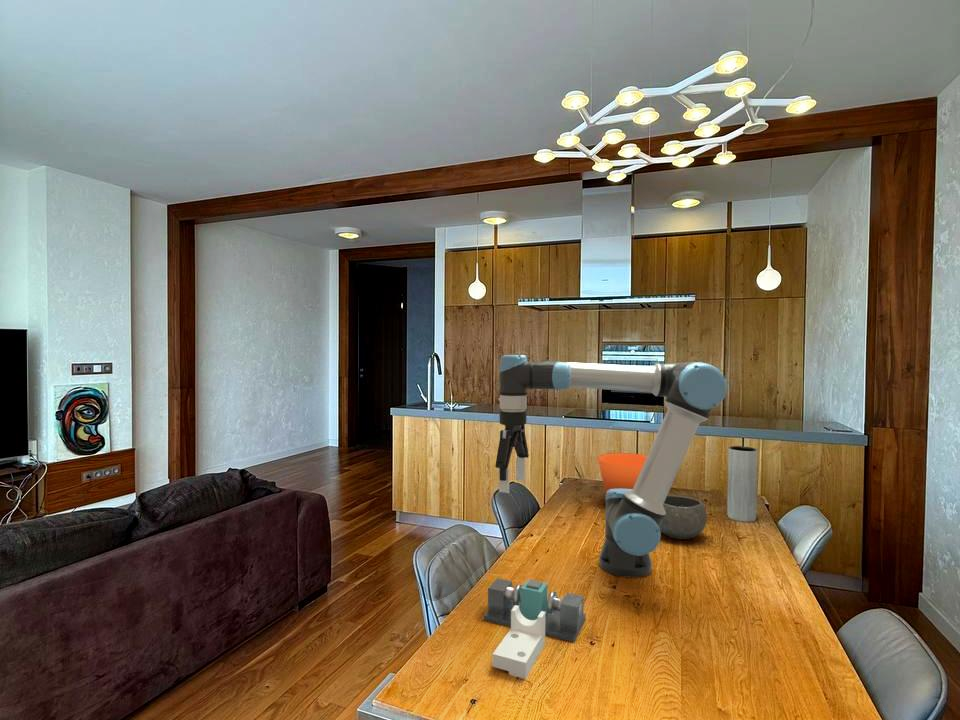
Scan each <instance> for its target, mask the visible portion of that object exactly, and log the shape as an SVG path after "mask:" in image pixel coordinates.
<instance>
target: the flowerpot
mask: <svg viewBox="0 0 960 720" xmlns="http://www.w3.org/2000/svg"><path fill="white" fill-rule="evenodd" d="M647 456H648V454H647V455H646V454H641V453H633V452H632V453H631V452H608V453H603V454H599V455H598V456H597V461H598V466H599V471H600V474H601V478H602V483H603V489H604V492H605V494H606V492H607V491H608V490H610V489H633V487H634V485H635V483H636V481H637V478H638V476H639V474H640V472H641V469H642V467H643V465H644V462H645V460H646V458H647Z"/></svg>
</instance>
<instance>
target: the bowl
mask: <svg viewBox="0 0 960 720" xmlns="http://www.w3.org/2000/svg"><path fill="white" fill-rule="evenodd" d="M663 506H664V509H665V511H666V515H665V517H664V519H663V521H662V524H661V526H660V531H661V533H663V534H664V535H665V536H668V537H670V538H671V539H672V538H673V539H677V540H687V539H692V538H695V537H696V536H699V535H700V534H701V533H702V532H703V530H705V528H706V525H707V521H708V519H707V518H708V516H707V510H706V508H705V505H704V504H703V502H702V501H701V500H699V499H696V498H694V497H693V498H691V497H687V496H680V495H670V494H668V495H667V497H666V499H665V502H664V504H663Z"/></svg>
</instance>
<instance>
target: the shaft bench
mask: <svg viewBox="0 0 960 720" xmlns="http://www.w3.org/2000/svg"><path fill="white" fill-rule="evenodd" d="M523 585H524V584H521V583H517V584H516V585H515V587H513V581H512V580H509V579H503V578H499V577H497V578H496V579H495V580H494V581H493V582H492V583H491V585H489V586H488V588H487V610H486V612H485V613H484V614H483V621H485V622H489V623H493V622H494V623H493V624H497V623H498V624H497V625H501V624H502V626H505V627H506V626H507V627H509V626H510V628H511V610H512V609H513V607H514V606H515V605H517V606H519V609H520V612H521V588H522V586H523ZM584 599H585V597H584V595H582V594H576V593H572V592H571V593H570V592H566V594H565V595H564V597H560V596H558V593H557V591H555V590H554V591H553V590H551V591H550V592H549V594H548V596H547V613H546V615H545V637H546V636H547V637H551V638H555V639H559V640H562V641H567V642H571V643H576V641H577V638H578V636H579V634H580V632H581V630H582V627H583V625H584V623H585V622H586V619H587V617H586V616H587V614H586V613H584V604H585V603H584ZM528 620H530V619H528Z"/></svg>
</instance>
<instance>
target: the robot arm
mask: <svg viewBox="0 0 960 720" xmlns="http://www.w3.org/2000/svg"><path fill="white" fill-rule="evenodd" d="M527 357H528V356H526V355H525V354H518V355H517V354H504V355H502V356H501V357H500V358H499V359H500V360H499V397H498V402H499V409H500V411H499V424H500V425H502V426H505V428H504V430H503V429H501V430H500V432H499V442H498V448H497V453H496V454H497V455H496V460H495V465H494V467H495V468H496V469H498V492H499V493H507V494H509V493H510V467H509V464H510V461H511V457H512V453H513V449H514V451H515V453H516V457H515V481H523V482H525V481H526V458H527V459H528V458H529V455H530V454H529V449H528V443H527V438H526V428H525V425H526V424H527V411H526V409H528V407H527V406H528V405H527V404H528V403H527V401H528V399H527V398H528V397H527V396H528V395H527V390H556V391H559V390H569V388H576V389H577V388H578V389H590V390H592V389H594V390H608V391H609V390H610V391H625V392H627V391H628V392H641V393H642V392H643V393H651V394H653V395H654V396H655V397H665V400H664V404H665V406H666V409H667V411H666V413H665V415H664V418H663V419H662V422H661V424H660V427H659V429H658V431H657V434H656V435H655V438H654V440H653V442H652V444H651V447H650V449H649V451H648V454H647V455H648V456H647V458H646V460H645V462H644V465H643V467H642V469H641V472H640V474H639V476H638V478H637V481H636V483H635V485H634V487H633V489H610V490H608V491H607V492H606V493H605V498H604V499H605V500H604V501H605V539H604V542H603V545H602V548H601V550H600V554H599V557H598V564H599V567H600V568H601V569H602V570H603V571H605V572H607V573H609V574H611V575H614V576H619V577H623V578H641V577H645V576H648V575H650V574H651V573H652V569H653V566H652V565H653V563H652V559H651V555H650V554H651V553H652V552H654V550H656V549H657V548H658V546H659V545H660V542H661V537H662V535H661V534H662V532H661V531H660V526H661V524H662V521H663V519H664V517H665V515H666V511H665V509H664V506H663V504H664V502H665V499H666V497H667V495H669V492H670V490H671V488H672V486H673V483H674V482H675V480H676V477H677V474H678V472H679V470H680V468H681V466H682V464H683V462H684V459H685V457H686V454H687V452H688V450H689V448H690V446H691V443H692V441H693V439H694V436H695V434H696V432H697V429H698V428H699V425H700V424H701V423H703V422H707V421H708V420H709V419H710V417H711V414H712V412H713V409H714V408H716V407H718V406H719V405H720V404H721V403H722V402H723V401H724V399H725V397H726V395H727V391H728V384H727V380H726V377H725V375H724V373H722V371H720V369H718V368H717V367H716V366H714V365H712V364H709V363H706V362H703V361H697V362H696V361H684V362H683V361H682V362H674V363H655V364H654V365H653V366H652V365H651V366H650V365H649V366H646V365H628V364H613V363H612V364H608V363H590V362H574V361H573V362H571V361H569V362H568V361H566V362H565V361H553V360H544V361H538V362H533V361H528V359H527Z"/></svg>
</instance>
